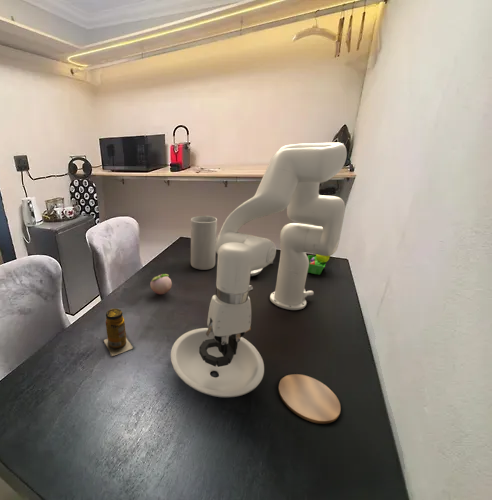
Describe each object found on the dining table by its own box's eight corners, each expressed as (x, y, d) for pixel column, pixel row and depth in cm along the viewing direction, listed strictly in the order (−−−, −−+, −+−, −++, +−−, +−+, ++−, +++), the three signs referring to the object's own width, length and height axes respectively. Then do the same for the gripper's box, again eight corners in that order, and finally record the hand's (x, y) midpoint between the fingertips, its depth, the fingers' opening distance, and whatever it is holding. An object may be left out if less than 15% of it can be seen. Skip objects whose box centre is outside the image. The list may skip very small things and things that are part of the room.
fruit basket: (306, 264, 132) (310, 243, 128) (327, 267, 127) (332, 246, 123) (303, 273, 124) (307, 250, 120) (326, 277, 119) (331, 254, 115)
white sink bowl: (251, 435, 58) (254, 414, 55) (155, 389, 70) (154, 370, 67) (268, 361, 76) (270, 343, 74) (190, 335, 88) (190, 319, 86)
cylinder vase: (217, 269, 132) (220, 222, 123) (192, 271, 133) (193, 223, 123) (211, 259, 144) (213, 215, 135) (188, 260, 144) (189, 216, 135)
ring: (223, 341, 75) (223, 336, 74) (238, 363, 67) (239, 358, 66) (195, 346, 74) (195, 341, 73) (207, 369, 66) (207, 364, 65)
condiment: (123, 333, 92) (120, 304, 87) (133, 348, 84) (130, 317, 80) (103, 340, 89) (99, 310, 84) (112, 357, 82) (107, 325, 77)
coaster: (310, 372, 72) (310, 369, 72) (354, 416, 60) (355, 414, 60) (267, 381, 70) (267, 379, 70) (304, 429, 58) (304, 427, 58)
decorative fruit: (161, 302, 108) (160, 281, 104) (147, 295, 114) (146, 274, 110) (176, 293, 114) (176, 273, 110) (162, 287, 120) (162, 267, 116)
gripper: (252, 281, 69) (246, 337, 75) (195, 290, 66) (194, 347, 73) (270, 295, 62) (262, 356, 69) (207, 306, 59) (205, 368, 66)
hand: (227, 351), depth 71 cm, fingers closed on ring, 2 cm apart
